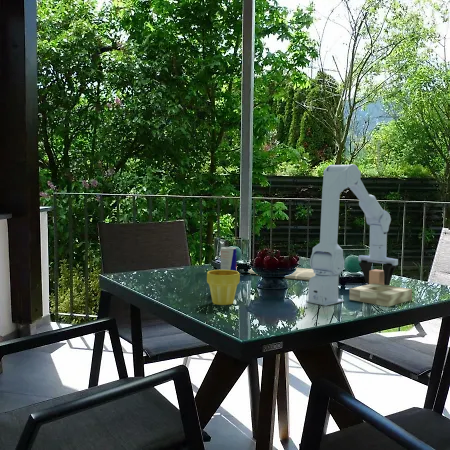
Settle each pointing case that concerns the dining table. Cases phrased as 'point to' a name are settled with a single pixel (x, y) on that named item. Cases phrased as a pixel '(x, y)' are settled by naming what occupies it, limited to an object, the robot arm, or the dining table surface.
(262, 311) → the dining table surface
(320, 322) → the dining table surface
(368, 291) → the socket block
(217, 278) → the plant pot
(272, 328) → the dining table surface
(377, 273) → the peg
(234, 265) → the beverage can
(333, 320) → the dining table surface
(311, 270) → the newspaper
